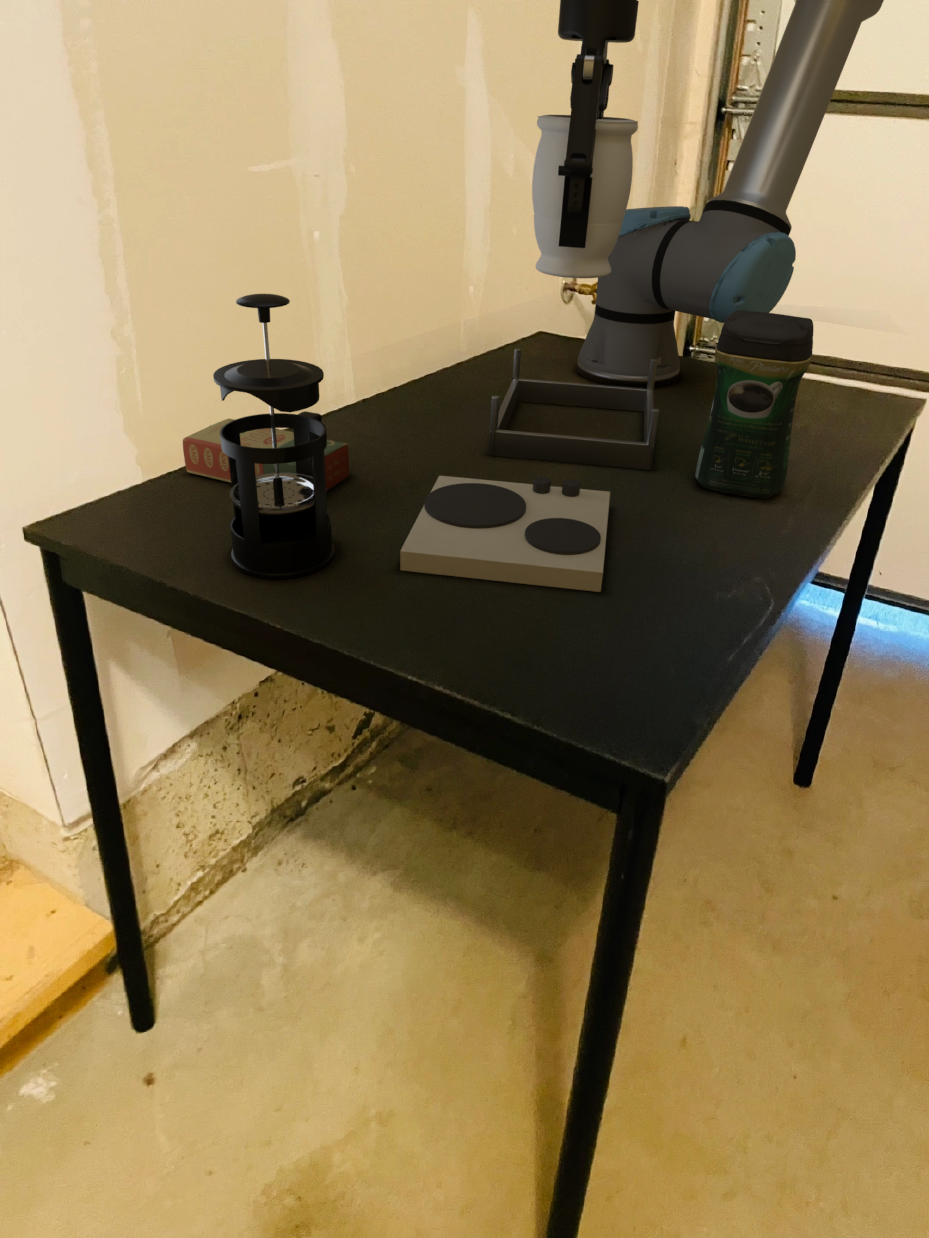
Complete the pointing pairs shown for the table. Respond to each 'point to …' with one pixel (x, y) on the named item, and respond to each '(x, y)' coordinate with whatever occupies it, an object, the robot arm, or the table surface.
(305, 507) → the french press
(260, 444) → the carton
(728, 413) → the coffee jar
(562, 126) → the jar
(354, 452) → the table surface
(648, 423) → the rack
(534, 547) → the stove
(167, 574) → the table surface
